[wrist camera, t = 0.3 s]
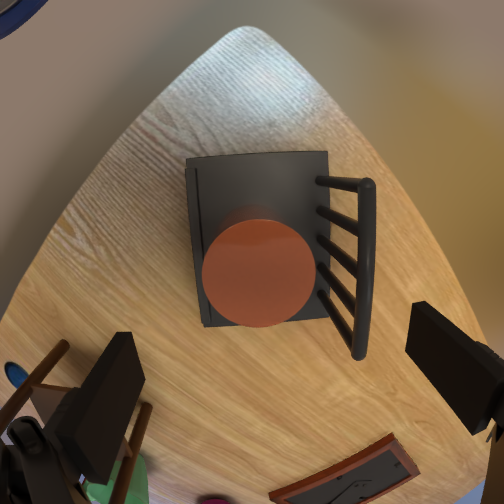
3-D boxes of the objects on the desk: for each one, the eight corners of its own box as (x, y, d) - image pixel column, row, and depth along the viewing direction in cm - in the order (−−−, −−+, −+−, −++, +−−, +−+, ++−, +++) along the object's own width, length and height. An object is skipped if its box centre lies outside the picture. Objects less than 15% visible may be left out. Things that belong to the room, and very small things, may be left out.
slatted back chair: (187, 159, 30) (149, 150, 17) (325, 151, 30) (382, 139, 17) (204, 323, 34) (188, 403, 21) (327, 313, 35) (368, 385, 22)
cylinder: (209, 207, 30) (196, 224, 21) (291, 201, 30) (315, 215, 21) (217, 284, 32) (208, 331, 23) (293, 278, 32) (315, 322, 23)
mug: (131, 433, 39) (115, 481, 29) (169, 467, 41) (161, 513, 32) (76, 446, 40) (58, 485, 31) (112, 477, 43) (100, 515, 33)
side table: (57, 337, 34) (-44, 456, 11) (134, 340, 35) (52, 503, 11) (83, 404, 37) (22, 525, 14) (155, 411, 38) (116, 559, 14)
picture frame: (317, 518, 49) (417, 468, 46) (319, 524, 47) (421, 474, 44) (268, 493, 44) (391, 432, 41) (269, 501, 42) (396, 440, 39)
